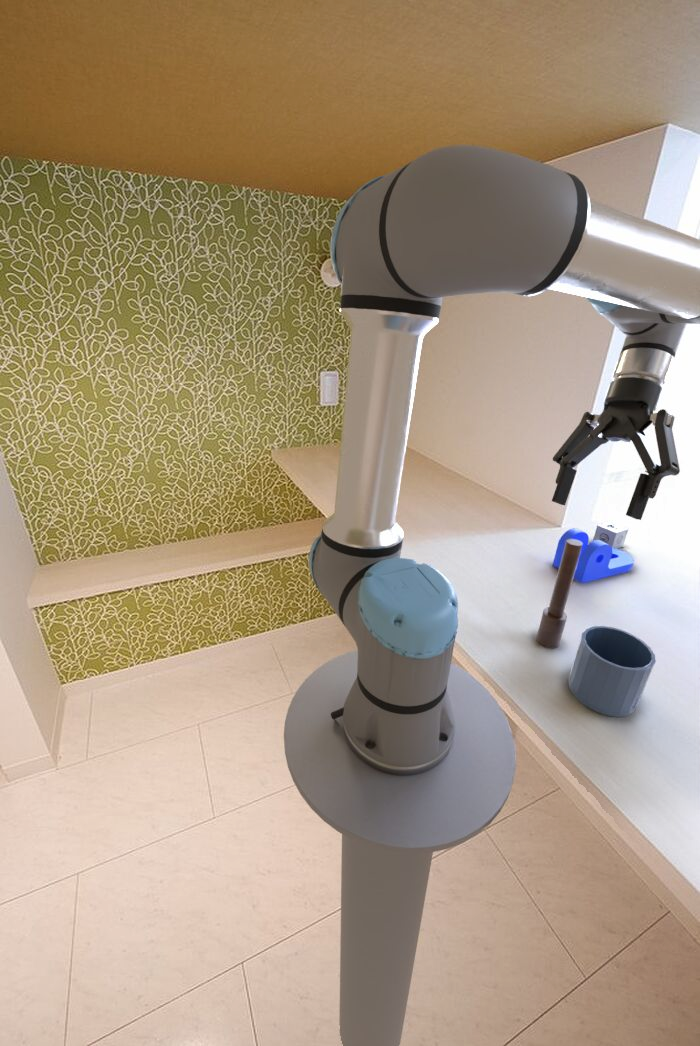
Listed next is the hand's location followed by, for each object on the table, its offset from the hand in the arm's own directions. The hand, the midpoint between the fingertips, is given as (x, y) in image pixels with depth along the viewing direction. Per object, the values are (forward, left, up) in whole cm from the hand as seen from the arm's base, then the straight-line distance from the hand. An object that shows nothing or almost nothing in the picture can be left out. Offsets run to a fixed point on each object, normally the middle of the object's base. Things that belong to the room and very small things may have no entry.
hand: (592, 510), depth 72 cm
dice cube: (+30, +29, -24) cm, 48 cm away
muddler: (-5, -4, -24) cm, 24 cm away
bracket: (+20, +19, -24) cm, 37 cm away
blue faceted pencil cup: (-3, -16, -24) cm, 29 cm away
